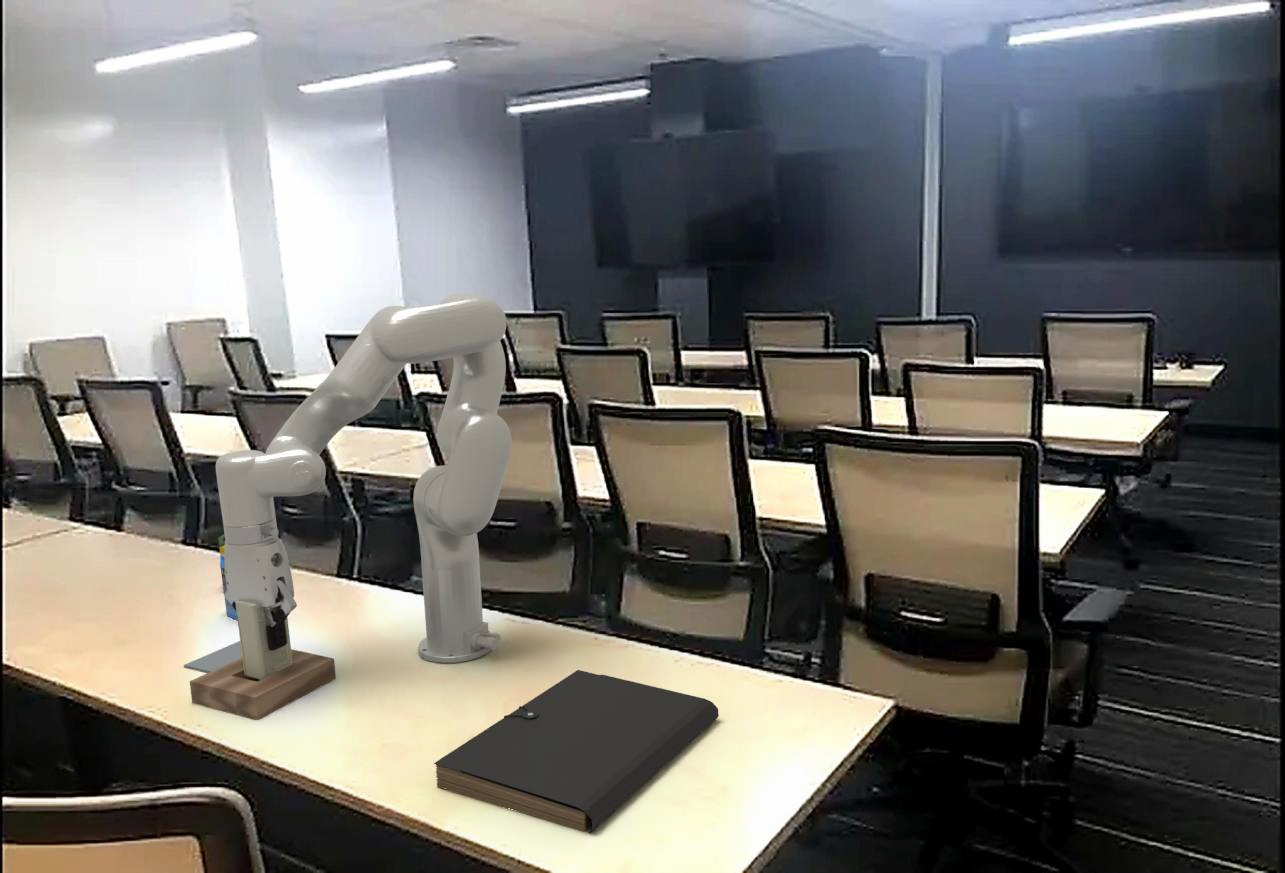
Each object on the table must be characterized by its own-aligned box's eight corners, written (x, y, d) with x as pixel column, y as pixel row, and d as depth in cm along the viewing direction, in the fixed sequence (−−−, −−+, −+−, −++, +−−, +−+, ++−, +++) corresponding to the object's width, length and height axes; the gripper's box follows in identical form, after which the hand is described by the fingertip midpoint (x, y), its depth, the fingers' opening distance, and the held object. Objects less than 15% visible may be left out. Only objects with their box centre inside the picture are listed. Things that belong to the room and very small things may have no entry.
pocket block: (335, 679, 170) (334, 658, 169) (257, 719, 156) (254, 697, 155) (272, 664, 176) (270, 644, 176) (192, 702, 163) (189, 681, 162)
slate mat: (291, 653, 181) (291, 650, 181) (234, 679, 171) (234, 677, 171) (241, 642, 187) (241, 640, 187) (184, 667, 176) (183, 664, 176)
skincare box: (276, 662, 170) (267, 589, 168) (294, 666, 167) (286, 592, 165) (242, 676, 164) (233, 601, 162) (261, 681, 162) (252, 604, 160)
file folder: (576, 667, 163) (718, 699, 151) (577, 692, 164) (718, 726, 152) (432, 760, 135) (592, 809, 123) (434, 789, 136) (593, 841, 124)
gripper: (310, 530, 161) (323, 643, 164) (232, 520, 169) (246, 629, 172) (272, 544, 154) (287, 662, 158) (192, 534, 162) (208, 646, 166)
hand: (265, 643), depth 165 cm, fingers closed on skincare box, 4 cm apart
